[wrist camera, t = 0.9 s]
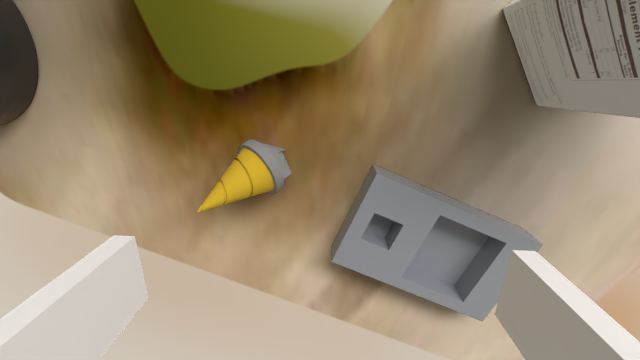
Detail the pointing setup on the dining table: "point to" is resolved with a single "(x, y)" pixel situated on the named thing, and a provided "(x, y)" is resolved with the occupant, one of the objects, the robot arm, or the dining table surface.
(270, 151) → the yellow grooved cone
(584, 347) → the robot arm
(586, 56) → the supplement box
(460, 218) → the bit holder block
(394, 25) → the dining table surface
